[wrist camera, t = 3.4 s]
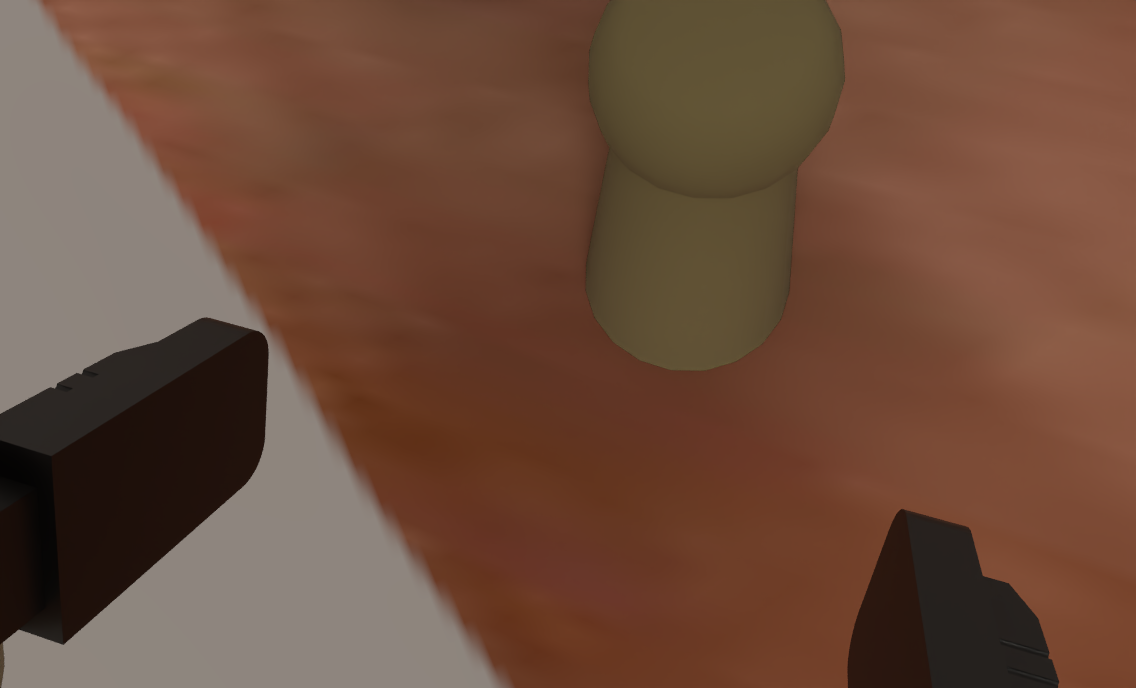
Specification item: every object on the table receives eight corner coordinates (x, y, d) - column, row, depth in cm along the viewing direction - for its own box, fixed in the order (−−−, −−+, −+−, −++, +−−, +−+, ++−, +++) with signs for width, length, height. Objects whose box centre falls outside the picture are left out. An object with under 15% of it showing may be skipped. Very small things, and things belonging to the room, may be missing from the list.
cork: (551, 237, 29) (512, -37, 19) (727, 160, 29) (781, -144, 19) (640, 405, 26) (651, 198, 16) (828, 318, 27) (950, 67, 17)
